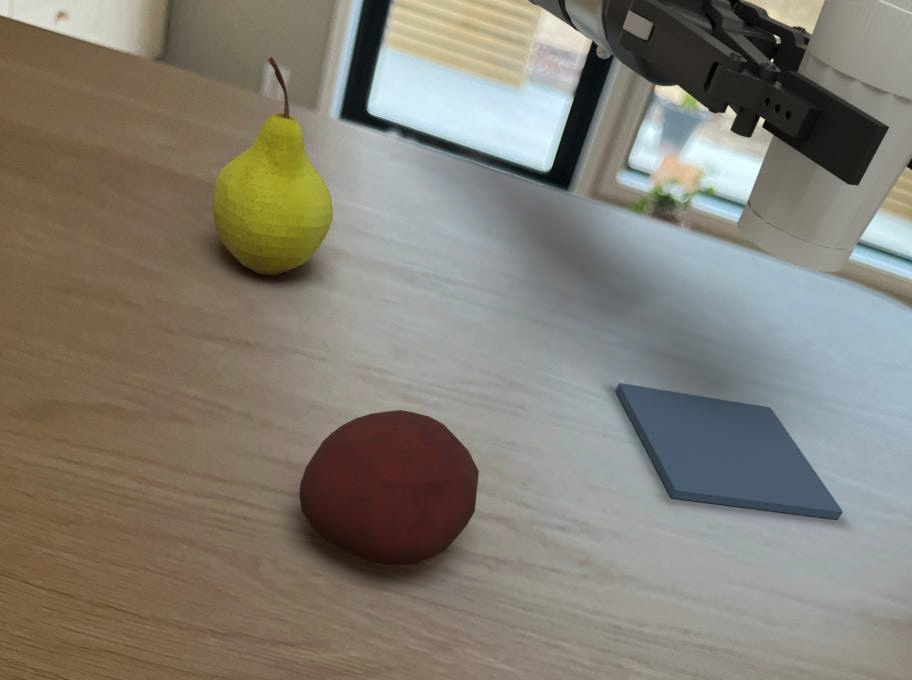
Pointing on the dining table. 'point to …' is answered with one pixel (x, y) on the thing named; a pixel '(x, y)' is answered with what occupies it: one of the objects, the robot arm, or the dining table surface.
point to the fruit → (272, 199)
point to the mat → (725, 453)
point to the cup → (809, 185)
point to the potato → (390, 488)
